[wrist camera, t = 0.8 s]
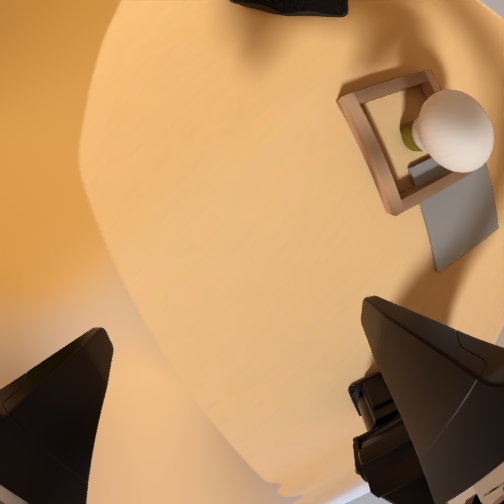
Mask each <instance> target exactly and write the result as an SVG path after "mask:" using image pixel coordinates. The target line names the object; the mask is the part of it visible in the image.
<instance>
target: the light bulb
mask: <svg viewBox="0 0 504 504" xmlns="http://www.w3.org/2000/svg"><path fill="white" fill-rule="evenodd" d="M401 134H402V140H403V142H404V144H405V145H406V147H407V148H409V149H410V150H412V151H424V152H426V153H428V154H429V155H430V156H431V157H432V158H433V159H434V160H435V161H436V162H437V163H438V164H440V165H441V166H443V167H444V168H446V169H449V170H451V171H454V172H461V173H464V172H471V171H474V170H476V169H478V168H480V167H481V166H483V165H484V163H485V162H486V161H487V160H488V158H489V157H490V155H491V152H492V149H493V144H494V133H493V127H492V124H491V121H490V119H489V116H488V115H487V113H486V111H485V110H484V108H483V107H482V106H481V105H480V104H479V103H478V102H477V101H476V100H475V99H474V98H472V97H471V96H469V95H468V94H466V93H463V92H461V91H457V90H442V91H439V92H436V93H434V94H433V95H431V96H430V97H429V98H428V99H427V100H426V101H425V102H424V104H423V106H422V108H421V111H420V114H419V116H418V117H417V119H416V120H415V121H412V122H409V123H406V124H405V125H404V126H403V128H402V133H401Z"/></svg>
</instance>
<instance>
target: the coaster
mask: <svg viewBox="0 0 504 504" xmlns="http://www.w3.org/2000/svg"><path fill="white" fill-rule="evenodd" d="M447 170H449V169H446V168H444V167H443V166H441V165H440V164H438V163H437V162H436V161H435V160H434V159H433V158H432V157H430V158H428V159H426V160H424V161H422V162H420V163H417V164H415V165H413V166H411V167H409V168H408V171H409V174H410V176H411V179H412V182H413V185H414V186H416V187H417V186H419V185H421V184H423V183H424V182H426V181H428V180H430V179H432V178H434V177H436V176H438V175H440V174H441V173H443V172H445V171H447ZM420 207H421V210H422V214H423V217H424V221H425V224H426V228H427V232H428V236H429V240H430V244H431V249H432V253H433V258H434V263H435V268H436V271H437V272H440V271H441V270H443V269H444V268H446V267H447V266H449V265H450V264H451V263H453V262H454V261H456V260H457V259H459V258H460V257H461V256H463V255H464V254H466V253H467V252H468V251H470V250H471V249H472V248H474V247H475V246H476V245H478V244H479V243H480V242H482V241H483V240H484V239H486V238H487V237H488V236H489V235H491V234H492V233H493V232H494V231H496V230H497V229H498V228H499V226H498V219H497V212H496V206H495V200H494V195H493V190H492V185H491V180H490V176H489V172H488V168H487V164H486V162H485V163H484V165H483V166H481V167H480V168H478V169H476V170H474V171H472V173H471V174H470V175H468V176H466V177H464V178H463V179H461V180H459V181H458V182H456V183H454V184H452V185H451V186H449V187H447V188H445V189H444V190H442V191H440V192H438V193H437V194H435V195H433V196H431V197H430V198H428V199H426V200H424V201H422V202H421V203H420Z"/></svg>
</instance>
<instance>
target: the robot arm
mask: <svg viewBox="0 0 504 504" xmlns="http://www.w3.org/2000/svg"><path fill="white" fill-rule="evenodd" d="M361 323H362V326H363V329H364V332H365V334H366V337H367V340H368V342H369V345H370V348H371V351H372V354H373V356H374V359H375V361H376V363H377V365H378V367H379V369H380V372H381V373H379V374H377V375H375V376H373V377H371V378H369V379H367V380H365V381H363V382H361V383H359V384H356V385H354V386H352V387H350V388H349V389H348V392H349V394H350V396H351V399H352V401H353V403H354V405H355V408H356V410H357V412H358V414H359V416H362V418H363V420H364V423H365V426H366V429H367V432H366V433H364V434H362V435H360V436H357V437H355V438H353V442H354V444H353V449H354V458H355V467H356V469H355V471H356V473H357V474H358V475H361V477H362V478H363V480H364V481H366V482H368V483H369V487H370V491H371V492H372V494H374V495H375V496H377V497H378V498H380V497H382V498H383V499H385V500H387V501H389V502H390V503H392V504H448V501H450V500H451V499H453V498H455V497H456V496H458V495H459V494H461V493H462V492H464V491H465V490H467V489H468V488H470V487H471V486H474V488H475V490H476V492H477V493H476V494H474V495H473V496H472V497H470V498H469V499H467V500H466V502H465V504H504V348H503V347H500V346H497V345H494V344H491V343H488V342H485V341H482V340H480V339H477V338H474V337H472V336H470V335H467V334H465V333H462V332H460V331H458V330H457V331H456V330H455V329H453V328H451V327H448V326H446V325H444V324H441V323H439V322H437V321H434V320H432V319H430V318H427V317H425V316H422V315H420V314H418V313H415V312H413V311H411V310H408V309H406V308H404V307H401V306H399V305H396V304H394V303H392V302H389V301H387V300H385V299H382V298H380V297H377V296H370V297H366V298H364V300H363V305H362V313H361ZM112 356H113V345H112V343H111V341H110V339H109V337H108V335H107V332H106V331H105V329H104V328H92V329H91V330H89V331H88V332H86V333H85V334H83V335H82V336H80V337H79V338H77V339H75V340H74V341H72V342H71V343H69V344H68V345H66V346H65V347H63V348H62V349H60V350H59V351H57V352H56V353H55V354H53V355H52V356H50V357H49V358H47V359H46V360H44V361H42V362H41V363H40V364H38V365H37V366H35V367H34V368H32V369H31V370H29V371H28V372H27V373H25V374H23V375H22V376H20V377H19V378H18V379H16V380H14V381H13V382H11V383H10V384H8V385H7V386H5V387H4V388H2V389H0V504H86V501H87V491H88V480H89V474H90V467H91V459H92V454H93V448H94V443H95V438H96V433H97V428H98V423H99V419H100V414H101V410H102V405H103V402H104V398H105V394H106V389H107V385H108V379H109V373H110V367H111V362H112Z"/></svg>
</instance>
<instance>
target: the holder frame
mask: <svg viewBox="0 0 504 504" xmlns="http://www.w3.org/2000/svg"><path fill="white" fill-rule="evenodd" d="M418 85H420V87H421V88H422V90H423V92H424V95H425V97H426V99H428V98H429V97H430V96H431V95H433V94H434V93H436V92H439V91H442V90H441V88H440V86H439V84H438V82H437V80H436V78H435V76H434V74H433V72H432V70H427V71H423V72H419V73H415V74H411V75H407V76H404V77H400V78H397V79H393V80H390V81H386V82H383V83H380V84H377V85H374V86H370V87H367V88H364V89H361V90H359V91H356V92H353V93H350V94H347V95H344V96H342V97H341V98H340V99H339V100H337V101H336V102H337V104H338V106H339V107H340V109H341V111H342V113H343V115H344V117H345V119H346V121H347V123H348V124H349V126H350V128H351V130H352V132H353V134H354V137H355V139H356V141H357V143H358V145H359V147H360V149H361V151H362V153H363V156H364V158H365V160H366V162H367V165H368V167H369V169H370V172H371V174H372V176H373V179H374V181H375V184H376V186H377V189H378V191H379V194H380V197H381V199H382V202H383V205H384V207H385V210H386V213H389V214H392V215H394V216H397V215H399V214H400V213H402V212H404V211H406V210H408V209H410V208H411V207H413V206H415V205H417V204H419V203H421V202H422V201H424V200H426V199H428V198H430V197H431V196H433V195H435V194H437V193H438V192H440V191H442V190H444V189H445V188H447V187H449V186H451V185H452V184H454V183H456V182H458V181H459V180H461V179H463V178H464V177H466V176H468V175H470V174H471V173H472V171H471V172H464V173H461V172H454V171H451V170H447V171H445V172H443V173H441V174H440V175H438V176H436V177H434V178H432V179H430V180H428V181H426V182H424V183H423V184H421V185H419V186H417V187H416V186H413V187H411V188H409V189H408V190H406V191H404V192H402V193H400V194H399V193H398V190H397V187H396V184H395V182H394V179H393V177H392V174H391V171H390V169H389V166H388V164H387V162H386V159H385V157H384V154H383V152H382V150H381V148H380V145H379V143H378V141H377V139H376V137H375V134H374V132H373V130H372V128H371V126H370V124H369V122H368V120H367V118H366V116H365V114H364V112H363V110H362V108H361V106H360V105H361V104H364V103H366V102H369V101H372V100H375V99H378V98H381V97H384V96H387V95H390V94H393V93H396V92H399V91H402V90H405V89H408V88H412V87H415V86H418Z"/></svg>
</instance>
